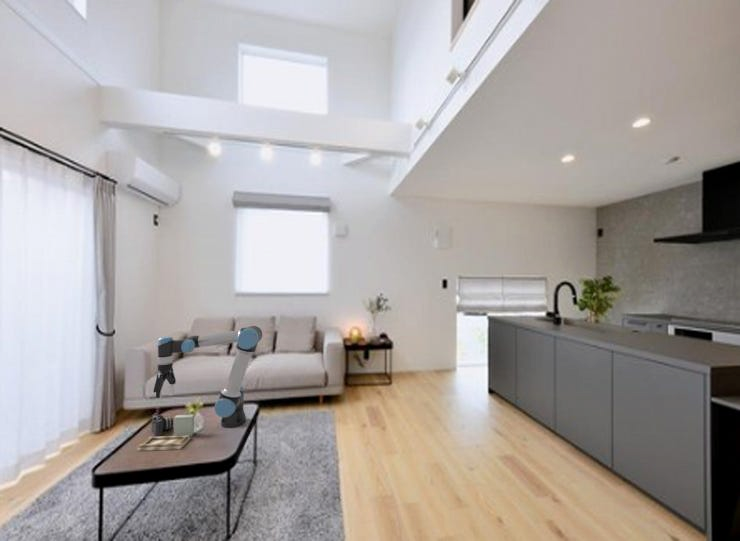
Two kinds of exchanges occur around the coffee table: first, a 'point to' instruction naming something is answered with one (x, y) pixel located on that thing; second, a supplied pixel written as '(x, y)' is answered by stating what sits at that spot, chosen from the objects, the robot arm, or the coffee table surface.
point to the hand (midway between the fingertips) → (165, 399)
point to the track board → (164, 443)
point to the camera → (160, 424)
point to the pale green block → (183, 425)
